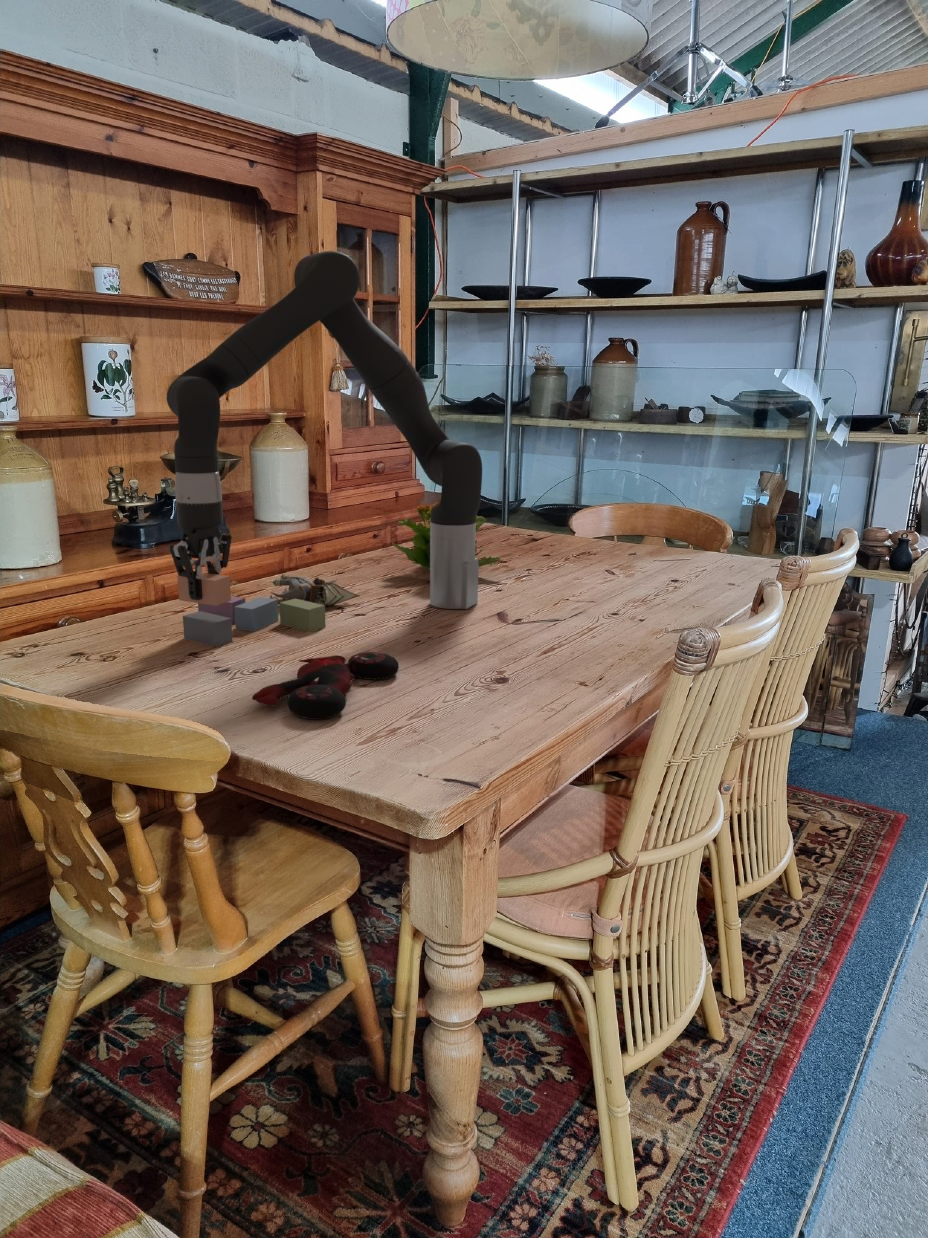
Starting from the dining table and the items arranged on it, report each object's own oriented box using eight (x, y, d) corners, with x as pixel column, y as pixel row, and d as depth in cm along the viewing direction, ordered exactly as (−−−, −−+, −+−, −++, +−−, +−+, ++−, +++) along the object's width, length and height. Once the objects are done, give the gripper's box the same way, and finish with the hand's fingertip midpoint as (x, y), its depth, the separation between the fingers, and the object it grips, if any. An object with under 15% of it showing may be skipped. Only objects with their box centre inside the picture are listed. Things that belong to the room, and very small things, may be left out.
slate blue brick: (261, 619, 169) (260, 597, 168) (278, 621, 167) (277, 599, 166) (235, 629, 162) (234, 606, 160) (253, 632, 160) (252, 609, 159)
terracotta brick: (231, 600, 153) (229, 575, 152) (216, 605, 149) (215, 580, 148) (194, 595, 156) (192, 571, 155) (179, 600, 152) (177, 575, 151)
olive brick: (325, 628, 164) (324, 605, 162) (309, 632, 160) (309, 609, 159) (296, 620, 168) (295, 598, 167) (280, 625, 165) (279, 602, 164)
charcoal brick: (232, 642, 154) (231, 618, 153) (214, 647, 151) (213, 623, 150) (202, 634, 158) (200, 611, 157) (184, 639, 155) (182, 615, 154)
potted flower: (519, 571, 212) (521, 499, 207) (475, 591, 192) (477, 512, 187) (430, 560, 223) (430, 492, 218) (380, 578, 203) (379, 503, 198)
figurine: (300, 566, 190) (372, 573, 186) (299, 593, 192) (371, 601, 187) (254, 580, 172) (333, 588, 167) (255, 610, 173) (333, 619, 169)
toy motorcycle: (404, 679, 141) (318, 652, 146) (408, 650, 139) (321, 623, 144) (325, 741, 119) (227, 706, 123) (329, 707, 117) (230, 673, 121)
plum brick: (246, 620, 168) (245, 598, 167) (233, 625, 164) (231, 602, 163) (212, 615, 171) (210, 593, 170) (198, 620, 167) (197, 598, 166)
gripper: (189, 505, 140) (195, 608, 145) (242, 495, 153) (247, 590, 157) (152, 501, 143) (159, 603, 147) (208, 492, 155) (213, 585, 160)
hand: (205, 596), depth 152 cm, fingers closed on terracotta brick, 4 cm apart
